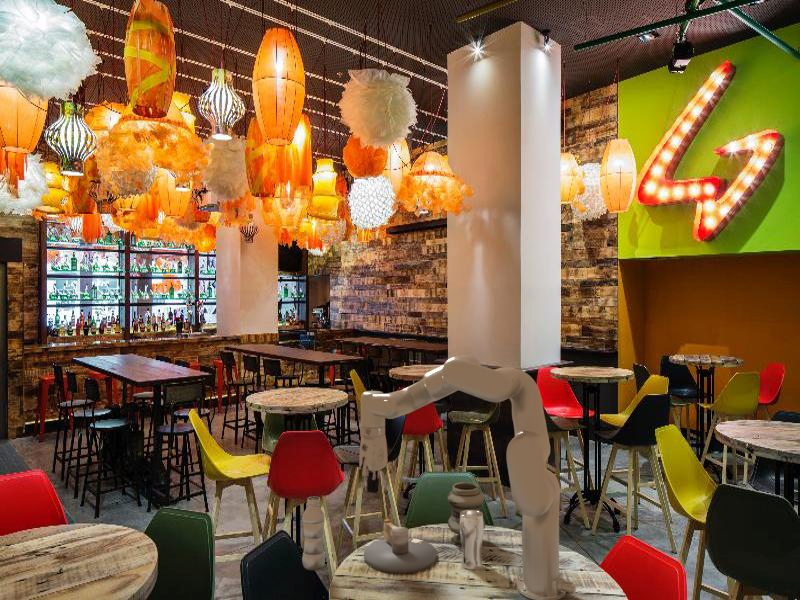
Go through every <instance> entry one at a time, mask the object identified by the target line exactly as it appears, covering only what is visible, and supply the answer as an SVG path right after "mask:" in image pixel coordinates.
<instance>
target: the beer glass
mask: <svg viewBox="0 0 800 600" xmlns="http://www.w3.org/2000/svg"><path fill="white" fill-rule="evenodd" d="M483 520H484V514H483V512H482V511H481V512H480V511H477V510H464V511H462V512H461V513H460V537H461V543H462V547H461V549H462V559H461V567H463V569H465V568H466V569H465V570H471V571H476V570H480V569H482V568H483V560H482V547H483V540H484V531H485V528H484V525H483Z"/></svg>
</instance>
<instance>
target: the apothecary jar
mask: <svg viewBox="0 0 800 600" xmlns="http://www.w3.org/2000/svg"><path fill="white" fill-rule="evenodd" d="M447 501H448V503H449V504H450V505H451V508H450V509H451V511H450V512H451V515H450V517H449V519H448V520H447V526H448V528H449V530H450V531H451V532H452V533H454V534H456V535H454V536H453V537H451V539H450V541H451V543H452V545H454V546H458V547H460V548H462V543H461V537H460V513H461V512H462V511H464V510H477V511H480V512H482V508H481V506H482V505H483V504H484V503H485V496H484V494H483V493H482V492H481V490H480V487H479V484H477V483H474V482H468V481H467V482H465V481H463V482H456V483H454V484H453V485H452V488H451V491H450V492H449V493H448V494H447ZM483 525H484V529H485V528H486V522H485V520H484V519H483Z"/></svg>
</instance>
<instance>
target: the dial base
mask: <svg viewBox="0 0 800 600" xmlns="http://www.w3.org/2000/svg"><path fill="white" fill-rule="evenodd" d="M408 542H409V551H408V552H407V553H405V554H395V553H393V552H392V544H391V543H390V542H389V541H387V540H386V539H385V538H384V539H380V540H376V541H374V542H372V543H370V544H369V545H367V546H366V547H365V548H364V551H363V560H364V559H365V560H364V562H365V561H366V562H365V563H366V565H368V566H369V567H370V566H371V569H372V568H373V569H374V570H377V571H379V572H380V571H381V572H385V573H391V574H409V573H414V572H415V573H417V572H420V571H423V570H425V569H428V568H430V567H431V566H433V565H435V563H436V561H437V559H438V557H437V556H438V555H437V549H436V547H435V546H433V545H432V544H431V543H429V542H427V541H425V540H424V539H423V540H421V539H417V538H414V537H413V538H411V537H408Z"/></svg>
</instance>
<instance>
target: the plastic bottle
mask: <svg viewBox="0 0 800 600" xmlns="http://www.w3.org/2000/svg"><path fill="white" fill-rule="evenodd" d="M306 499H307V502H306V506H307V508H305V510H304V512H303V513H302V516H301V518H302V525H303V536H304V537H303V538H304V539H303V540H304V543H303V551H302V552H303V553H302V557H301V558H302V559H301V560H302V565H303V568H304V569H306V570H307V571H318V570H321V569H323V567H324V566H325V564H326V563H325V562H326V555H325V550H324V549H325V548H324V527H325V517H326V516H325V512H324V511H323V509H322V508H321V507H320V506H321V498H320V496H309V497H307V498H306Z"/></svg>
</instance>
